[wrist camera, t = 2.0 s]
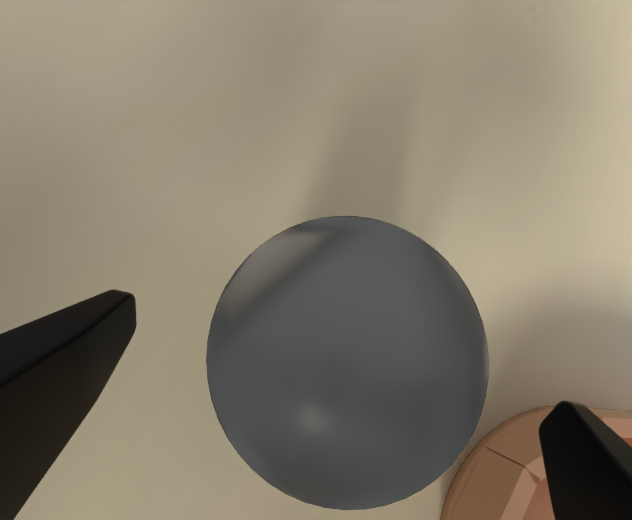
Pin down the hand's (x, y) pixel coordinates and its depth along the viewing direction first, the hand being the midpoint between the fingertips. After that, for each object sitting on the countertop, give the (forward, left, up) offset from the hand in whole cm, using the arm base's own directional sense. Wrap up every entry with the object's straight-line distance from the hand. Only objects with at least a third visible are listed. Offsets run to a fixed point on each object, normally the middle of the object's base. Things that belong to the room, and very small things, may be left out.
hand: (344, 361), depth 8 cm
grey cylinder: (0, 0, -8) cm, 8 cm away
